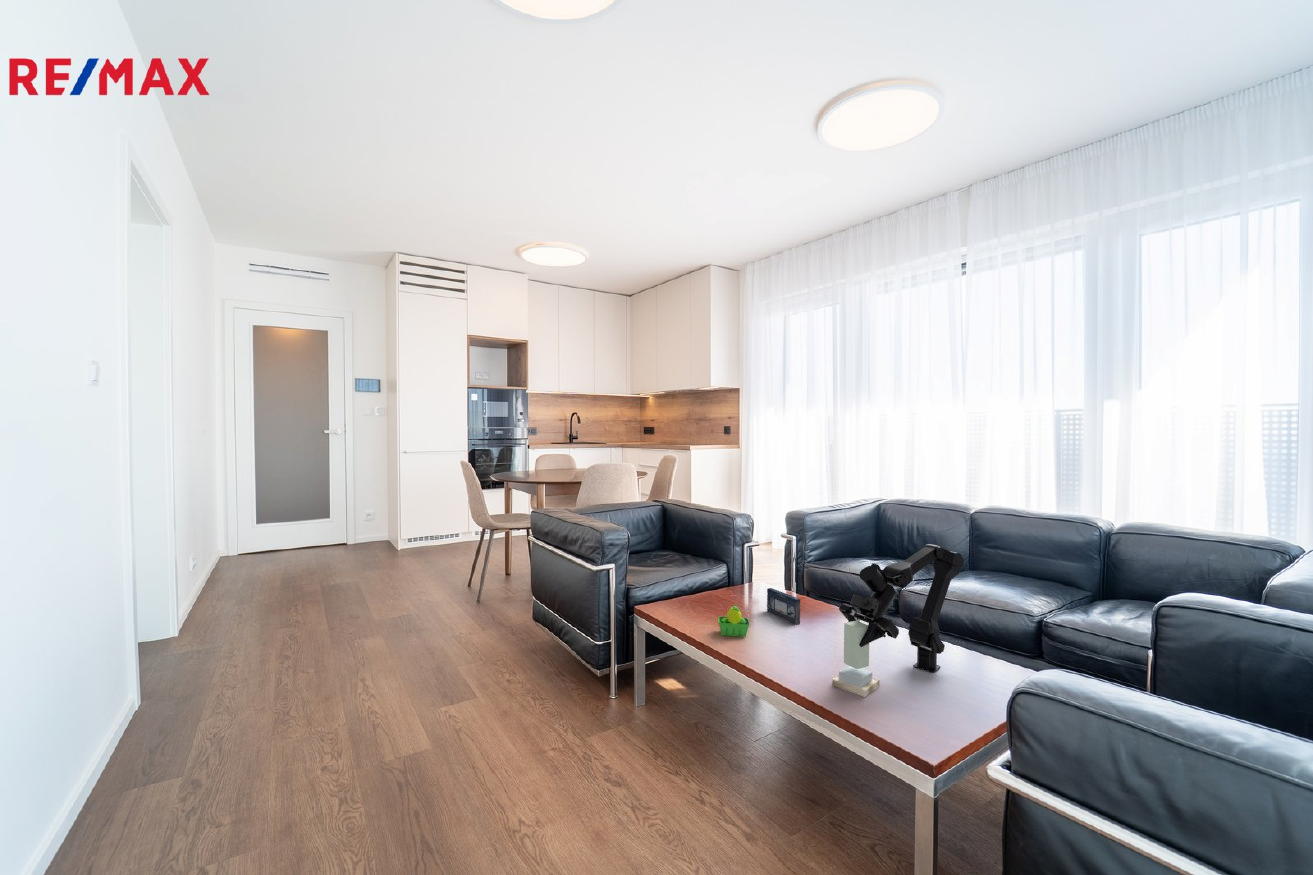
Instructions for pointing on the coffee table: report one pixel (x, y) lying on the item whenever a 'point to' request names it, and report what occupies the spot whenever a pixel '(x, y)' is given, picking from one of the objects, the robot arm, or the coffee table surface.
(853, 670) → the tower top
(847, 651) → the column
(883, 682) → the coffee table surface
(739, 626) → the fruit basket
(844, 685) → the tower base
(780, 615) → the vhs cassette tape
